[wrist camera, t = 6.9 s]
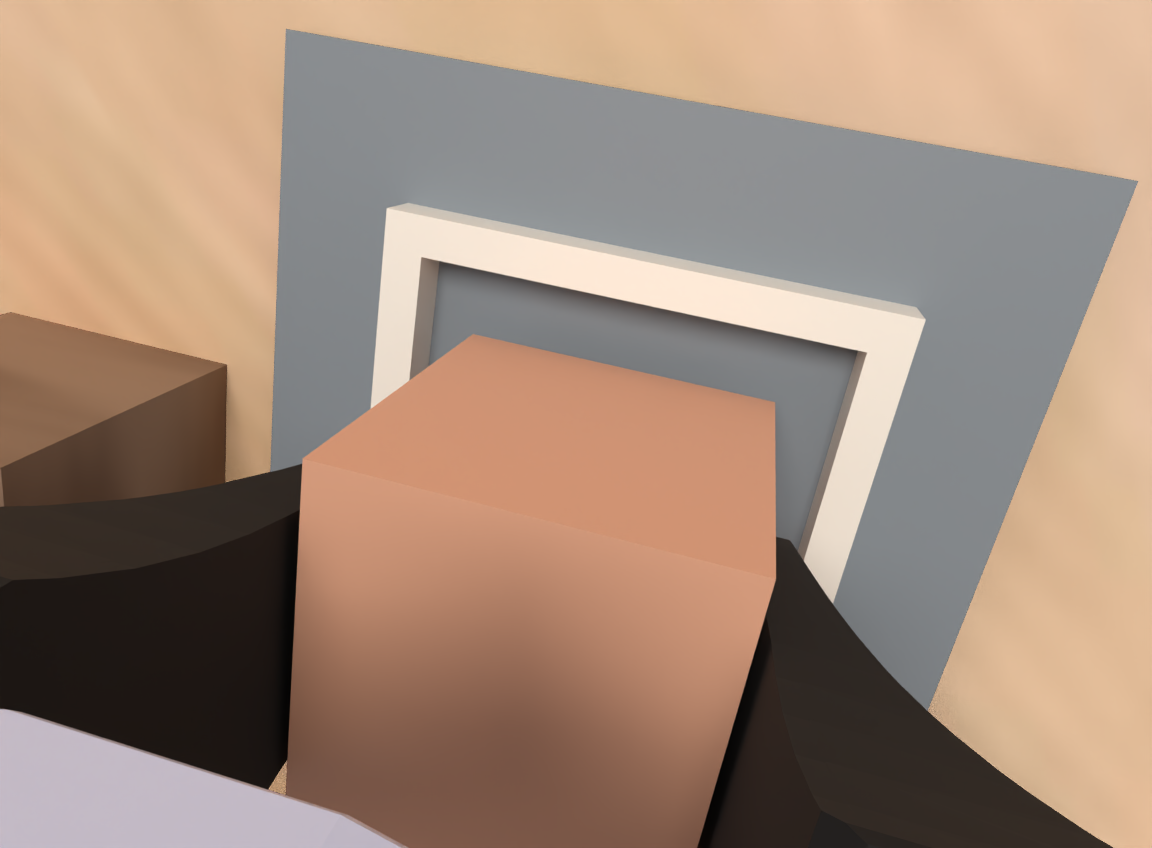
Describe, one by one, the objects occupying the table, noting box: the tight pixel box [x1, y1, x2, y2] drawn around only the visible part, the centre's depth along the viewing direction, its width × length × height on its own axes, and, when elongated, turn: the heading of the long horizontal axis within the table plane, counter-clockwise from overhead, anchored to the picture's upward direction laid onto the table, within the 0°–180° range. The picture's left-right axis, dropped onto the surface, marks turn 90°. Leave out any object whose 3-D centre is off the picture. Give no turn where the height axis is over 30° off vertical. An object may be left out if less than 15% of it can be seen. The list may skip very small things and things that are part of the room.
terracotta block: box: [286, 334, 776, 848], centre depth 11 cm, size 4×4×5 cm
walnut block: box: [0, 312, 227, 507], centre depth 14 cm, size 4×4×5 cm
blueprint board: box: [270, 29, 1138, 711], centre depth 14 cm, size 12×12×1 cm
